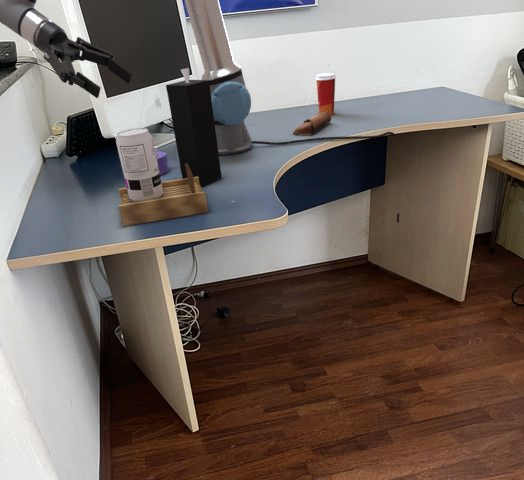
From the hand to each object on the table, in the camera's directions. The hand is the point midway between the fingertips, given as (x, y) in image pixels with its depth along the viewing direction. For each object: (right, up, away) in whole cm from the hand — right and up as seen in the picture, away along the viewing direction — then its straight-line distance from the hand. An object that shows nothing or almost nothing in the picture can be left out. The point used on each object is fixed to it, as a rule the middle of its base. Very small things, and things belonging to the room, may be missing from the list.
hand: (115, 85), depth 134 cm
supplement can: (+10, -31, -7) cm, 33 cm away
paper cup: (+62, +24, +71) cm, 97 cm away
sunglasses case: (+55, +11, +53) cm, 77 cm away
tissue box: (+21, -21, +13) cm, 32 cm away
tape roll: (+4, -14, +24) cm, 29 cm away
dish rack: (+14, -33, -5) cm, 36 cm away
